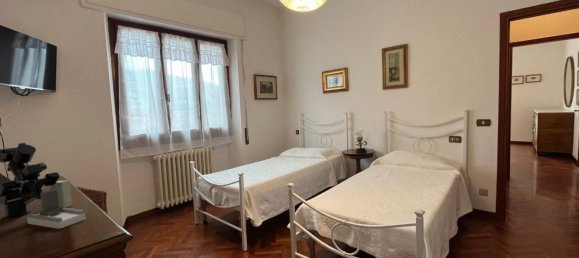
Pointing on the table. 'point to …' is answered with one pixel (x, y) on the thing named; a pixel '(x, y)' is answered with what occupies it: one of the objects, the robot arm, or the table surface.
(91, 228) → the table surface
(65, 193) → the skincare box
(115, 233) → the table surface
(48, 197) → the slider
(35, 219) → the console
